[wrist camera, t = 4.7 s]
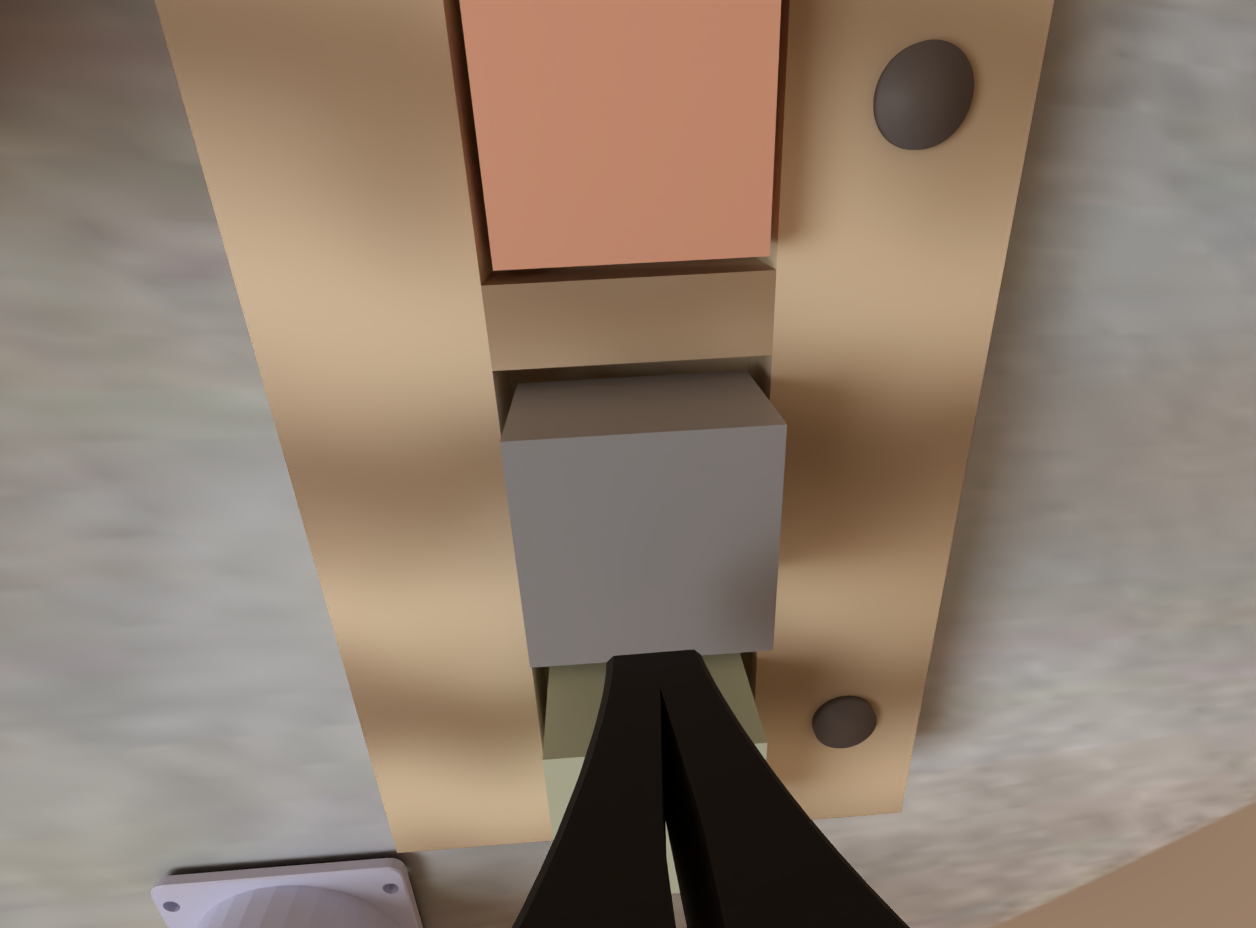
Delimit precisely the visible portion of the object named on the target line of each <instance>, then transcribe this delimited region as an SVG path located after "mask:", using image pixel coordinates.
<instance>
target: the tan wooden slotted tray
mask: <svg viewBox="0 0 1256 928" xmlns="http://www.w3.org/2000/svg"><path fill="white" fill-rule="evenodd" d="M154 1H155V4H156V8H157V11H158V15H159V18H160V22H161V26H162V29H163V33H164V36H165V40H166V43H167V47H168V50H169V54H170V57H171V61H172V64H173V68H174V71H175V75H176V78H177V82H178V85H179V89H180V92H181V96H182V99H183V103H184V106H185V110H186V113H187V117H188V120H189V124H190V127H191V131H192V134H193V138H194V141H195V145H196V148H197V152H198V155H199V159H200V162H201V166H202V169H203V173H204V176H205V180H206V183H207V187H208V190H209V194H210V198H211V201H212V205H213V208H214V212H215V215H216V219H217V222H218V226H219V229H220V233H221V236H222V240H223V243H224V247H225V250H226V254H227V257H228V261H229V264H230V268H231V271H232V275H233V278H234V282H235V285H236V289H237V292H238V296H239V299H240V303H241V306H242V310H243V313H244V317H245V320H246V324H247V327H248V331H249V334H250V338H251V341H252V345H253V348H254V352H255V355H256V359H257V362H258V366H259V370H260V373H261V377H262V380H263V384H264V387H265V391H266V394H267V398H268V401H269V405H270V408H271V412H272V415H273V419H274V422H275V426H276V429H277V433H278V436H279V440H280V443H281V447H282V450H283V454H284V457H285V461H286V464H287V468H288V471H289V475H290V478H291V482H292V485H293V489H294V492H295V496H296V499H297V503H298V506H299V510H300V513H301V517H302V520H303V524H304V527H305V531H306V534H307V538H308V542H309V545H310V549H311V552H312V556H313V559H314V563H315V566H316V570H317V573H318V577H319V580H320V584H321V587H322V591H323V594H324V598H325V601H326V605H327V608H328V612H329V615H330V619H331V622H332V626H333V629H334V633H335V636H336V640H337V643H338V647H339V650H340V654H341V657H342V661H343V664H344V668H345V671H346V675H347V678H348V682H349V685H350V689H351V692H352V696H353V699H354V703H355V706H356V710H357V714H358V717H359V721H360V724H361V728H362V731H363V735H364V738H365V742H366V745H367V749H368V752H369V756H370V759H371V763H372V766H373V770H374V773H375V777H376V780H377V784H378V787H379V791H380V794H381V798H382V801H383V805H384V808H385V812H386V815H387V819H388V822H389V826H390V829H391V833H392V836H393V840H394V843H395V847H396V850H397V853H403V852H415V851H428V850H440V849H452V848H465V847H477V846H490V845H502V844H515V843H527V842H539V841H552V840H553V835H552V828H551V820H550V813H549V805H548V798H547V790H546V783H545V776H544V768H543V761H542V759H543V745H544V732H545V718H546V705H547V691H548V678H549V666H548V667H534V668H530V664H529V656H528V649H527V642H526V634H525V627H524V619H523V612H522V604H521V597H520V589H519V582H518V575H517V567H516V560H515V552H514V545H513V537H512V530H511V522H510V515H509V508H508V500H507V493H506V485H505V478H504V470H503V463H502V455H501V448H500V439H501V436H502V433H503V429H504V426H505V423H506V420H507V416H508V413H509V410H510V407H511V403H512V400H513V397H514V394H515V390H516V387H517V384H518V383H535V382H552V381H569V380H586V379H604V378H621V377H638V376H655V375H673V374H690V373H707V372H724V371H742V370H747V371H748V373H749V374H750V375H751V377H752V378H753V379H754V381H755V382H756V383H757V385H758V386H759V387H760V389H761V390H762V391H763V393H764V394H765V396H766V397H767V398H768V400H769V401H770V402H771V404H772V405H773V406H774V408H775V409H776V410H777V412H778V413H779V414H780V416H781V417H782V418H783V420H784V421H785V422H786V424H787V435H786V451H785V467H784V483H783V499H782V515H781V532H780V548H779V564H778V580H777V596H776V612H775V628H774V644H773V650H770V651H757V652H743V653H740V655H741V659H742V662H743V665H744V668H745V672H746V675H747V678H748V681H749V685H750V688H751V691H752V694H753V698H754V701H755V704H756V707H757V711H758V714H759V717H760V720H761V724H762V727H763V730H764V733H765V737H766V740H767V757H766V761H767V763H768V764H769V766H770V767H771V768H772V770H773V771H774V772H775V774H776V775H777V776H778V778H779V779H780V780H781V782H782V783H783V784H784V786H785V787H786V788H787V790H788V791H789V792H790V794H791V795H792V796H793V797H794V799H795V800H796V801H797V802H798V804H799V805H800V806H801V807H802V809H803V810H804V811H805V812H806V814H807V815H808V816H809V817H810V819H811V820H813V819H825V818H838V817H850V816H862V815H875V814H887V813H900V812H901V810H902V804H903V799H904V794H905V789H906V783H907V778H908V773H909V767H910V762H911V757H912V752H913V746H914V741H915V736H916V730H917V725H918V720H919V714H920V709H921V704H922V699H923V693H924V688H925V683H926V677H927V672H928V667H929V662H930V656H931V651H932V646H933V640H934V635H935V630H936V624H937V619H938V614H939V609H940V603H941V598H942V593H943V587H944V582H945V577H946V572H947V566H948V561H949V556H950V550H951V545H952V540H953V534H954V529H955V524H956V519H957V513H958V508H959V503H960V497H961V492H962V487H963V482H964V476H965V471H966V466H967V460H968V455H969V450H970V444H971V439H972V434H973V429H974V423H975V418H976V413H977V407H978V402H979V397H980V391H981V386H982V381H983V376H984V370H985V365H986V360H987V354H988V349H989V344H990V339H991V333H992V328H993V323H994V317H995V312H996V307H997V301H998V296H999V291H1000V286H1001V280H1002V275H1003V270H1004V264H1005V259H1006V254H1007V249H1008V243H1009V238H1010V233H1011V227H1012V222H1013V217H1014V211H1015V206H1016V201H1017V196H1018V190H1019V185H1020V180H1021V174H1022V169H1023V164H1024V159H1025V153H1026V148H1027V143H1028V137H1029V132H1030V127H1031V121H1032V116H1033V111H1034V106H1035V100H1036V95H1037V90H1038V84H1039V79H1040V74H1041V69H1042V63H1043V58H1044V53H1045V47H1046V42H1047V37H1048V31H1049V26H1050V21H1051V16H1052V10H1053V5H1054V0H781V18H780V40H779V62H778V85H777V107H776V129H775V151H774V173H773V195H772V218H771V240H770V256H764V257H745V258H726V259H706V260H687V261H668V262H649V263H630V264H611V265H592V266H573V267H554V268H535V269H516V270H497V271H493V266H492V258H491V250H490V242H489V234H488V226H487V218H486V210H485V202H484V194H483V186H482V178H481V170H480V162H479V154H478V146H477V138H476V130H475V122H474V114H473V105H472V97H471V89H470V81H469V73H468V65H467V57H466V49H465V41H464V33H463V25H462V17H461V9H460V1H459V0H154Z"/></svg>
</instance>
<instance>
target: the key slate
mask: <svg viewBox="0 0 1256 928" xmlns="http://www.w3.org/2000/svg"><path fill="white" fill-rule="evenodd" d="M786 435H787V424H786V422H785V421H784V420H783V418H782V417H781V416H780V414H779V413H778V412H777V410H776V409H775V408H774V406H773V405H772V404H771V402H770V401H769V400H768V398H767V397H766V396H765V394H764V393H763V391H762V390H761V389H760V387H759V386H758V385H757V383H756V382H755V381H754V379H753V378H752V377H751V375H750V374H749V373H748V371H747V370H742V371H724V372H707V373H690V374H673V375H655V376H638V377H621V378H604V379H586V380H569V381H552V382H535V383H518V384H517V387H516V390H515V394H514V397H513V400H512V403H511V407H510V410H509V413H508V416H507V420H506V423H505V426H504V429H503V433H502V436H501V439H500V448H501V455H502V463H503V470H504V478H505V485H506V493H507V500H508V508H509V515H510V522H511V530H512V537H513V545H514V552H515V560H516V567H517V575H518V582H519V589H520V597H521V604H522V612H523V619H524V627H525V634H526V642H527V649H528V656H529V664H530V668H534V667H548V666H562V665H576V664H590V663H604V662H607V661H608V660H610V659H611V658H612V657H613V656H617V655H630V654H642V653H654V652H667V651H679V650H692V649H694V650H696V651H697V652H698V653H699V654H701V655H715V654H729V653H743V652H757V651H770V650H773V644H774V628H775V612H776V596H777V580H778V564H779V548H780V532H781V515H782V499H783V483H784V467H785V451H786Z"/></svg>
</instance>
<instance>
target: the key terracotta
mask: <svg viewBox="0 0 1256 928" xmlns="http://www.w3.org/2000/svg"><path fill="white" fill-rule="evenodd" d="M459 1H460V9H461V17H462V25H463V33H464V41H465V49H466V57H467V65H468V73H469V81H470V89H471V97H472V105H473V114H474V122H475V130H476V138H477V146H478V154H479V162H480V170H481V178H482V186H483V194H484V202H485V210H486V218H487V226H488V234H489V242H490V250H491V258H492V266H493V271H497V270H516V269H535V268H554V267H573V266H592V265H611V264H630V263H649V262H668V261H687V260H706V259H726V258H745V257H764V256H770V240H771V218H772V195H773V173H774V151H775V129H776V107H777V85H778V62H779V40H780V18H781V0H459Z"/></svg>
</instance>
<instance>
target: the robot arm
mask: <svg viewBox="0 0 1256 928" xmlns="http://www.w3.org/2000/svg"><path fill="white" fill-rule="evenodd" d="M666 826H667V831H668V836H669V841H670V846H671V851H672V855H673V860H674V865H675V870H676V875H677V880H678V885H679V890H680V895H681V900H682V904H683V909H684V914H685V919H686V924H687V928H910V927H909V926H908V925H907V924H906V923H905V922H904V921H903V920H902V919H901V918H900V917H899V916H898V915H897V914H896V913H895V912H894V911H893V910H892V909H891V908H890V907H889V906H888V905H887V904H886V903H885V902H884V901H883V900H882V899H881V897H880V896H879V895H878V894H877V893H876V892H875V891H874V890H873V889H872V888H871V887H870V886H869V885H868V884H867V883H866V882H865V881H864V879H863V878H862V877H861V876H860V875H859V874H858V873H857V872H856V871H855V870H854V868H853V867H852V866H851V865H850V864H849V863H848V862H847V861H846V860H845V858H844V857H843V856H842V855H841V854H840V853H839V852H838V851H837V849H836V848H835V847H834V846H833V845H832V844H831V843H830V841H829V840H828V839H827V838H826V837H825V836H824V834H823V833H822V832H821V831H820V830H819V828H818V827H817V826H816V825H815V824H814V822H813V821H812V820H811V819H810V817H809V816H808V815H807V814H806V812H805V811H804V810H803V809H802V807H801V806H800V805H799V804H798V802H797V801H796V800H795V799H794V797H793V796H792V795H791V794H790V792H789V791H788V790H787V788H786V787H785V786H784V784H783V783H782V782H781V780H780V779H779V778H778V776H777V775H776V774H775V772H774V771H773V770H772V768H771V767H770V766H769V764H768V763H767V761H766V760H765V759H764V757H763V756H762V754H761V753H760V751H759V750H758V749H757V747H756V746H755V744H754V743H753V741H752V740H751V739H750V737H749V736H748V734H747V733H746V731H745V730H744V728H743V727H742V725H741V724H740V722H739V721H738V719H737V718H736V716H735V715H734V713H733V711H732V710H731V708H730V707H729V705H728V703H727V702H726V700H725V698H724V697H723V695H722V693H721V692H720V690H719V688H718V687H717V685H716V683H715V681H714V679H713V678H712V676H711V674H710V672H709V670H708V668H707V666H706V664H705V662H704V660H703V658H702V655H701V654H699V653H698V652H697V651H696V650H694V649H692V650H679V651H667V652H654V653H642V654H630V655H617V656H613V657H612V658H611V659H610V660H608V661H607V662H606V676H605V683H604V689H603V694H602V699H601V703H600V708H599V712H598V715H597V719H596V723H595V727H594V731H593V734H592V737H591V740H590V743H589V746H588V749H587V752H586V756H585V759H584V762H583V765H582V768H581V771H580V774H579V777H578V780H577V782H576V785H575V788H574V790H573V793H572V795H571V798H570V800H569V803H568V805H567V808H566V811H565V813H564V816H563V818H562V821H561V823H560V826H559V828H558V831H557V833H556V836H555V838H554V840H553V843H552V845H551V847H550V850H549V852H548V854H547V856H546V859H545V861H544V863H543V865H542V867H541V870H540V872H539V874H538V876H537V878H536V880H535V882H534V884H533V886H532V889H531V891H530V893H529V895H528V897H527V899H526V901H525V903H524V905H523V907H522V909H521V911H520V913H519V915H518V917H517V919H516V921H515V923H514V925H513V927H512V928H676V926H675V918H674V911H673V903H672V896H671V888H670V881H669V873H668V865H667V857H666ZM151 897H152V899H153V901H154V903H155V905H156V906H157V908H158V910H159V912H160V914H161V916H162V918H163V919H164V921H165V923H166V925H167V927H168V928H423V926H422V922H421V919H420V915H419V912H418V908H417V904H416V901H415V897H414V894H413V890H412V887H411V883H410V879H409V876H408V872H407V869H406V866H405V865H404V863H403V862H402V861H400V860H399V859H395V858H379V859H367V860H355V861H342V862H330V863H317V864H305V865H293V866H280V867H268V868H255V869H243V870H231V871H218V872H206V873H193V874H181V875H169V876H164V877H161V878H160V879H158V880H157V882H156V883H155V885H154V887H153V889H152V890H151Z"/></svg>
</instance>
